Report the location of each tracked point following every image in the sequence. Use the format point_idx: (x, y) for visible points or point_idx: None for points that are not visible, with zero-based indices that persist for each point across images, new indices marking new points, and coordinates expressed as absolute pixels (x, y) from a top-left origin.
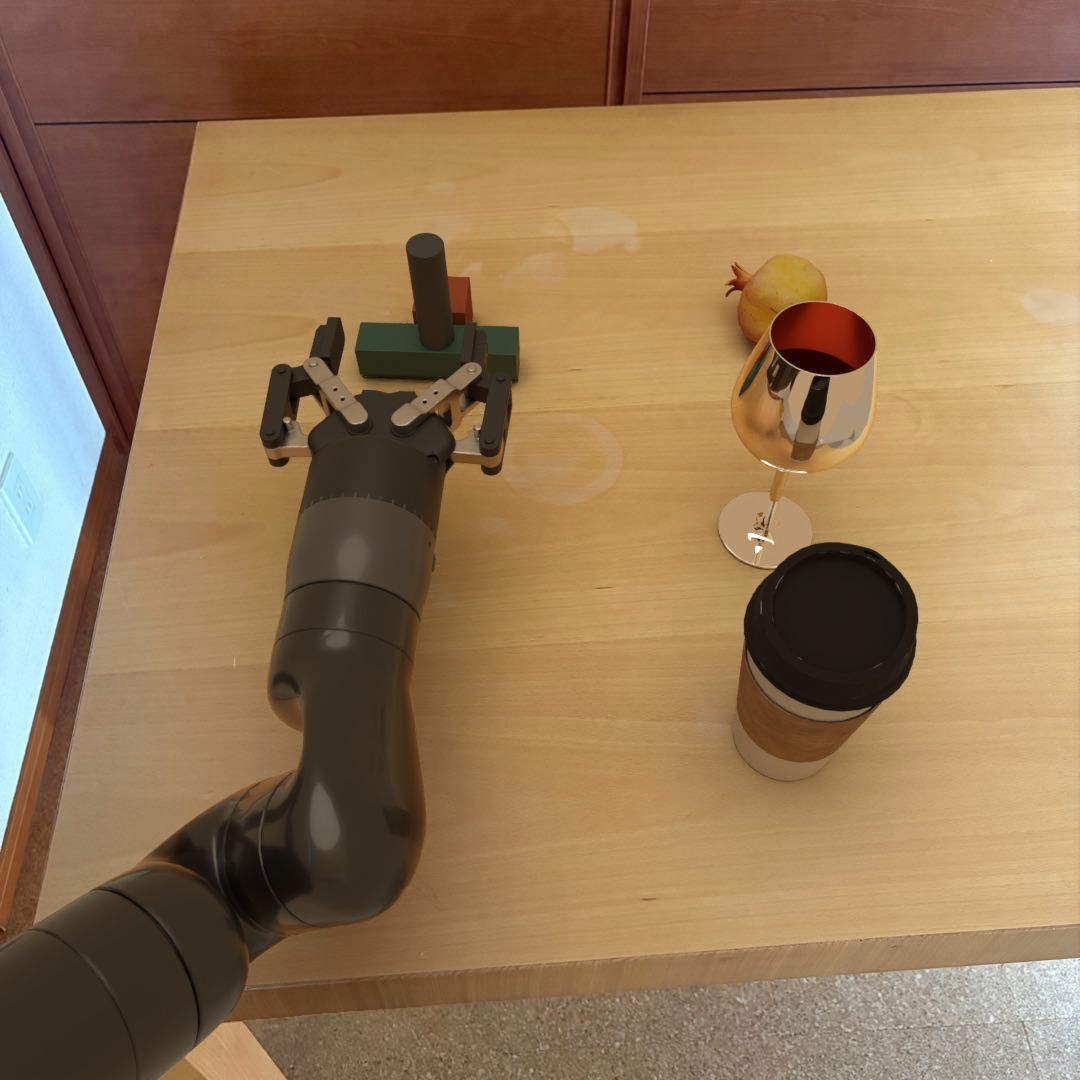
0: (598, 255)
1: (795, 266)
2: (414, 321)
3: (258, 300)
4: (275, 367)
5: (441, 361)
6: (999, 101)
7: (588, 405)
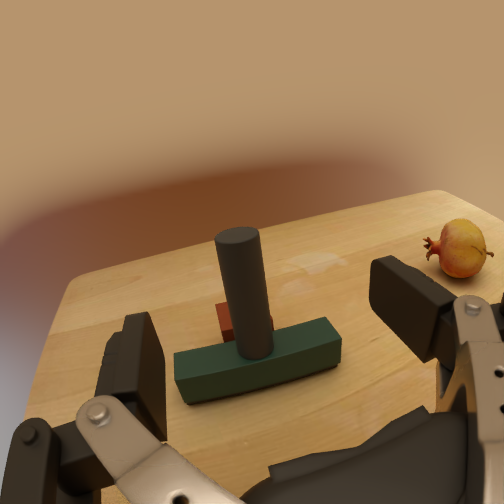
0: (327, 272)
1: (465, 221)
2: (224, 341)
3: (91, 357)
4: (21, 427)
5: (268, 369)
6: (424, 192)
7: (407, 359)
